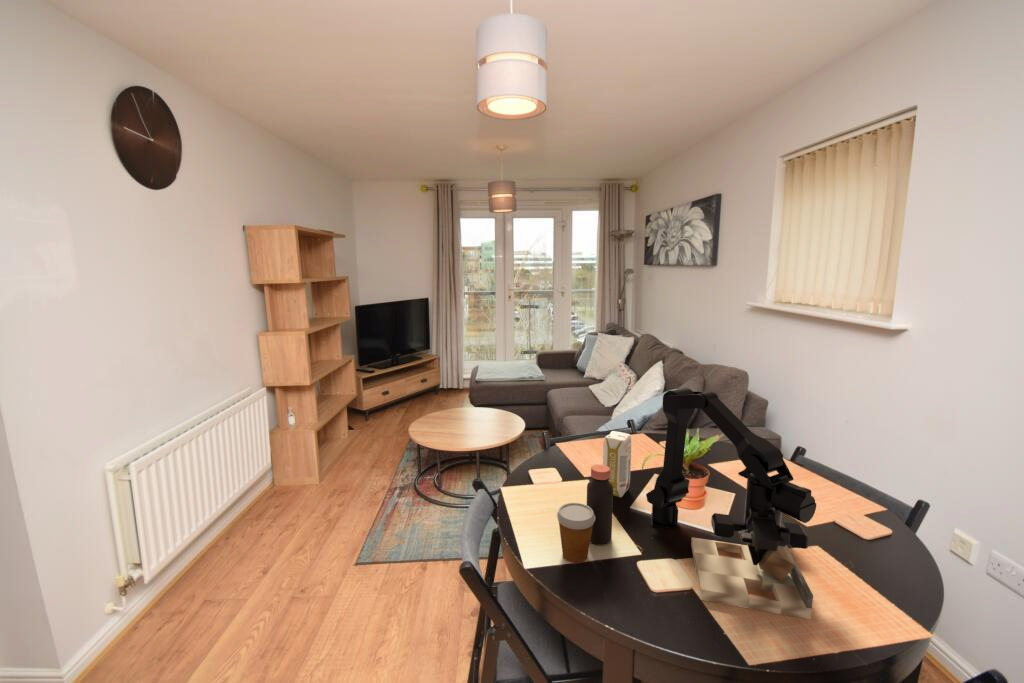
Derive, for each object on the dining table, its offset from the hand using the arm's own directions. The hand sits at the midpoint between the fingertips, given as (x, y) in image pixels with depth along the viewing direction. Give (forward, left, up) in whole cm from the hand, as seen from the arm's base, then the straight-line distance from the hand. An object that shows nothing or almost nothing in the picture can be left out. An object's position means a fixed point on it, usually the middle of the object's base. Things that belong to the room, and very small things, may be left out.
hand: (754, 564), depth 104 cm
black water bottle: (-36, +7, -4) cm, 37 cm away
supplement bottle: (+7, +20, -4) cm, 22 cm away
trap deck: (-2, 0, -4) cm, 5 cm away
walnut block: (+3, 0, -1) cm, 3 cm away
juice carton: (-33, +35, -4) cm, 48 cm away
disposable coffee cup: (-41, -2, -4) cm, 41 cm away
